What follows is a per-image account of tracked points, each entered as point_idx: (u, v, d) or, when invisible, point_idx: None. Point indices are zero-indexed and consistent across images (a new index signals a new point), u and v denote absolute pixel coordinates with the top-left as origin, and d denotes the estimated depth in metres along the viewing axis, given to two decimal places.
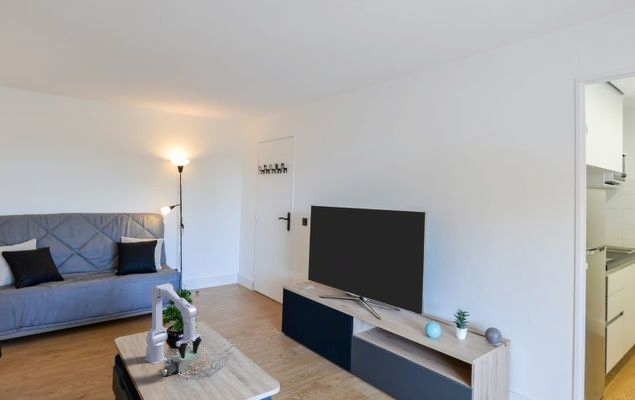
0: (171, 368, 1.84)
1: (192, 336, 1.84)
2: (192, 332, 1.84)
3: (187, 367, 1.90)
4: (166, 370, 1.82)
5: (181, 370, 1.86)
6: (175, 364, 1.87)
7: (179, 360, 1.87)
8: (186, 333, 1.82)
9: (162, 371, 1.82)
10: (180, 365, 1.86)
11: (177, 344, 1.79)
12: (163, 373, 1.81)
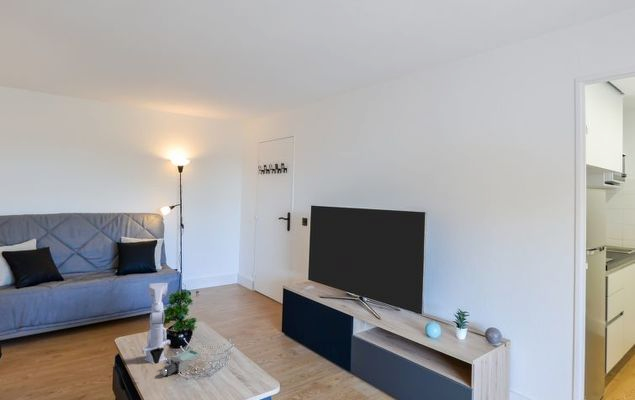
0: (171, 368, 1.84)
1: (159, 343, 1.76)
2: (159, 339, 1.76)
3: (187, 367, 1.90)
4: (166, 370, 1.82)
5: (181, 370, 1.86)
6: (175, 364, 1.87)
7: (179, 360, 1.87)
8: (153, 340, 1.75)
9: (162, 371, 1.82)
10: (180, 365, 1.86)
11: (143, 351, 1.72)
12: (163, 373, 1.81)
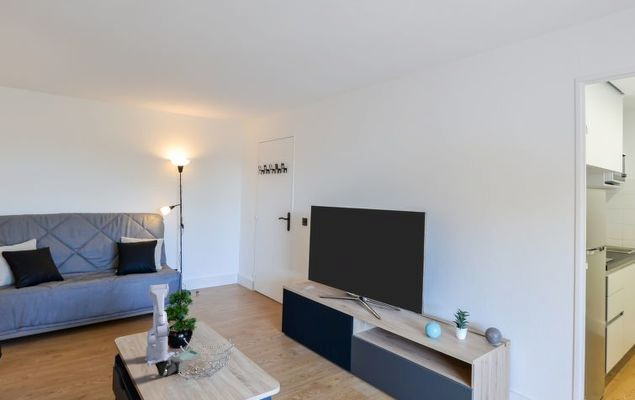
0: (171, 368, 1.84)
1: (164, 355, 1.79)
2: (164, 351, 1.79)
3: (187, 367, 1.90)
4: (166, 370, 1.82)
5: (181, 370, 1.86)
6: (175, 364, 1.87)
7: (179, 360, 1.87)
8: (157, 352, 1.78)
9: None
10: (180, 365, 1.86)
11: (148, 364, 1.74)
12: (163, 373, 1.82)
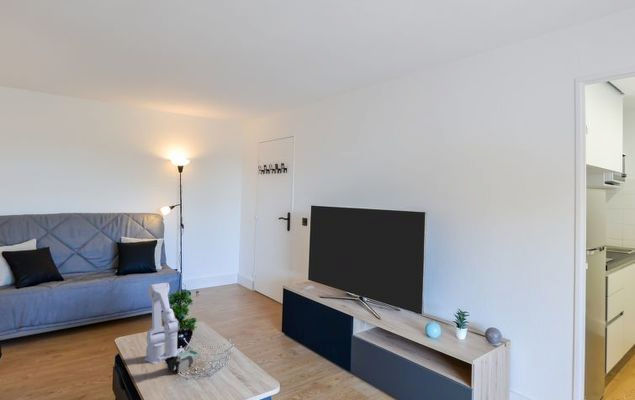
0: None
1: (174, 351, 1.84)
2: (174, 347, 1.84)
3: (187, 367, 1.90)
4: (176, 365, 1.87)
5: (181, 370, 1.86)
6: (184, 360, 1.91)
7: (179, 360, 1.87)
8: (168, 348, 1.83)
9: None
10: (180, 365, 1.86)
11: (158, 360, 1.79)
12: (173, 368, 1.86)
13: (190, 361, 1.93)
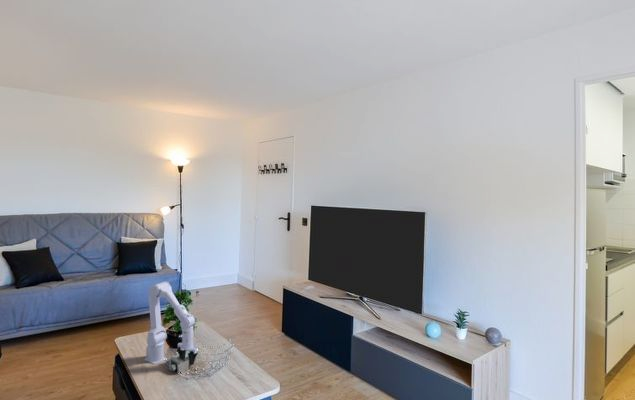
0: None
1: (182, 345, 1.92)
2: (183, 341, 1.92)
3: (187, 367, 1.90)
4: (175, 365, 1.87)
5: (181, 370, 1.86)
6: (184, 359, 1.92)
7: (179, 360, 1.87)
8: None
9: (171, 366, 1.87)
10: (180, 365, 1.86)
11: None
12: (173, 368, 1.86)
13: None
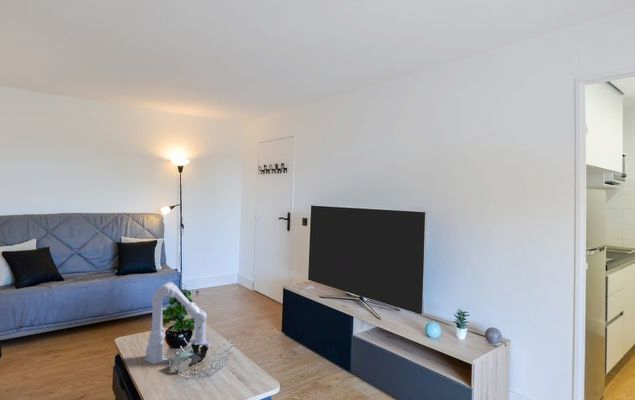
0: (195, 357, 1.96)
1: (196, 340, 1.99)
2: (196, 336, 1.99)
3: (187, 367, 1.90)
4: (190, 359, 1.94)
5: (181, 370, 1.86)
6: (197, 353, 1.99)
7: (179, 360, 1.87)
8: None
9: None
10: (180, 365, 1.86)
11: None
12: None
13: None
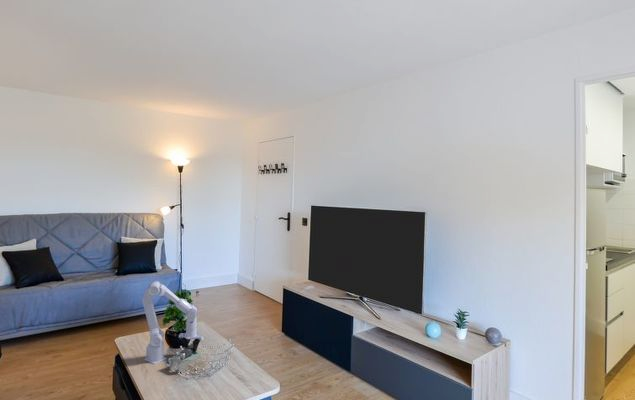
0: (187, 350, 2.00)
1: (188, 334, 2.03)
2: (188, 330, 2.03)
3: (187, 367, 1.90)
4: (183, 353, 1.98)
5: (181, 370, 1.86)
6: (189, 347, 2.03)
7: (179, 360, 1.87)
8: (186, 329, 2.05)
9: (180, 356, 1.98)
10: (180, 365, 1.86)
11: None
12: (182, 357, 1.97)
13: None
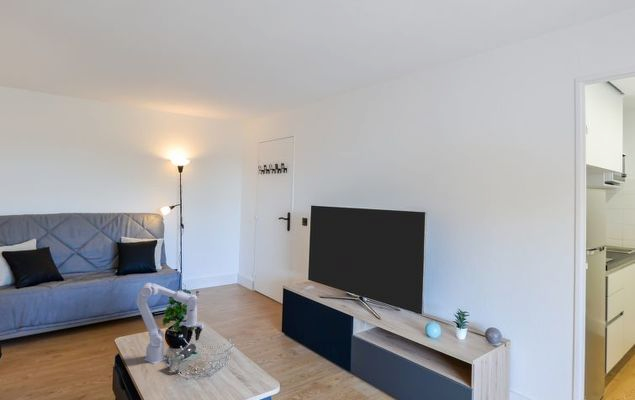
0: (186, 351, 2.00)
1: (188, 322, 2.03)
2: (188, 319, 2.03)
3: (187, 367, 1.90)
4: (182, 354, 1.98)
5: (181, 370, 1.86)
6: (187, 347, 2.03)
7: (179, 360, 1.87)
8: None
9: None
10: (180, 365, 1.86)
11: None
12: (181, 357, 1.98)
13: (193, 347, 2.06)
